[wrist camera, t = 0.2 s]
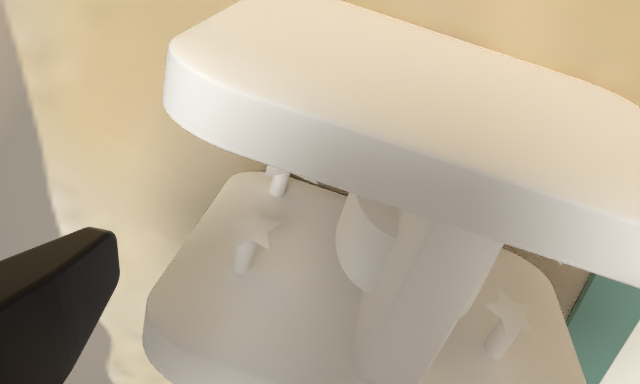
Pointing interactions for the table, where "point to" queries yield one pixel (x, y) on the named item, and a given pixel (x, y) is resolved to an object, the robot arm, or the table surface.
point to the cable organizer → (386, 204)
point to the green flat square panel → (607, 331)
